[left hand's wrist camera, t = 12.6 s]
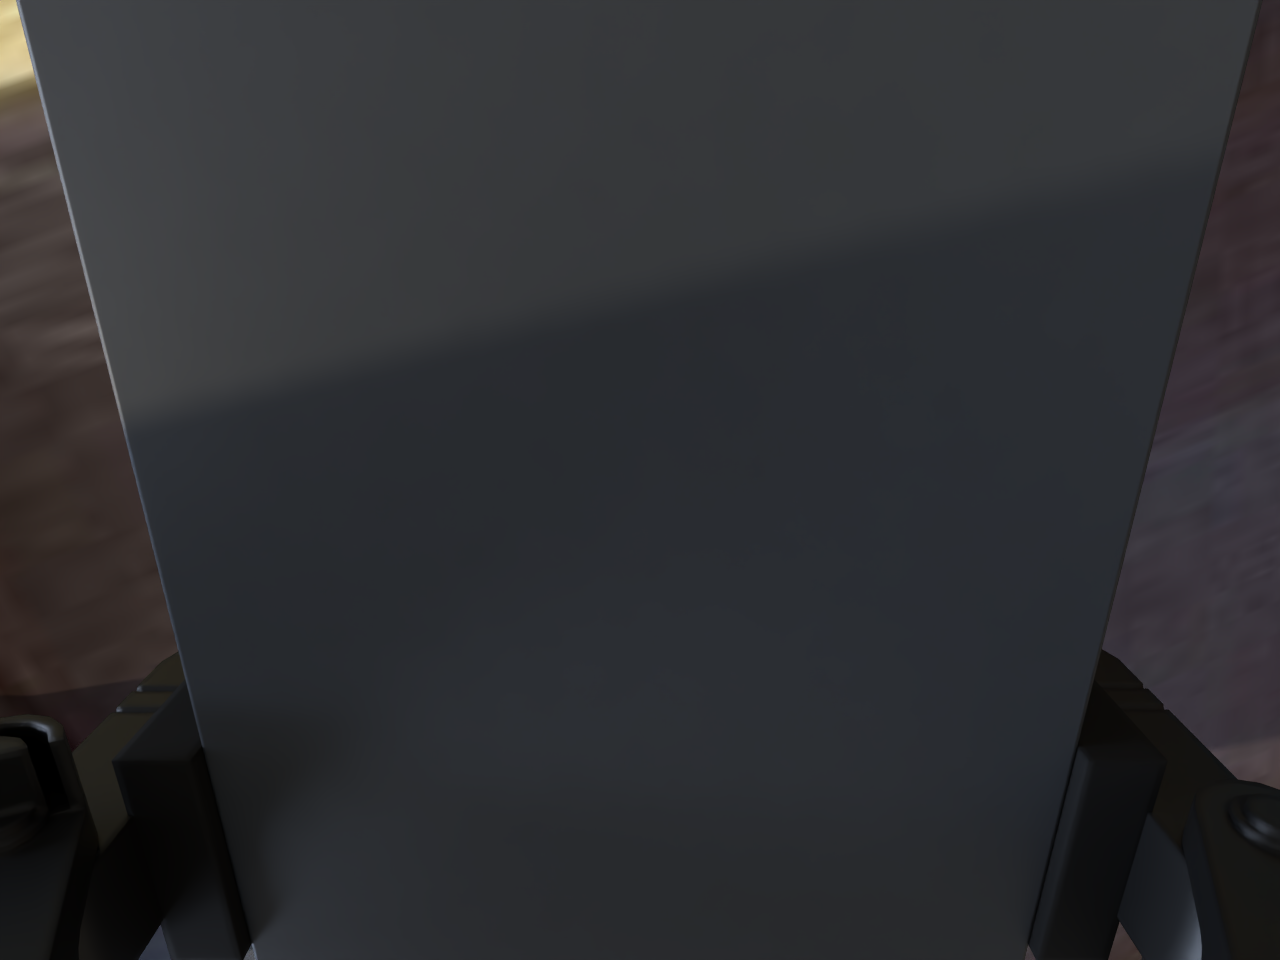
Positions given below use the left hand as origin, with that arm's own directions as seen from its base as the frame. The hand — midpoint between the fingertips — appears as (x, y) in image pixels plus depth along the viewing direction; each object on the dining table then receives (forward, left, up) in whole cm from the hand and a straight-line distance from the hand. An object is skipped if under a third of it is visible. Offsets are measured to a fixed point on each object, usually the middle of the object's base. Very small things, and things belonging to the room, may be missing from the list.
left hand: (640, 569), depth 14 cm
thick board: (+28, +21, -1) cm, 35 cm away
